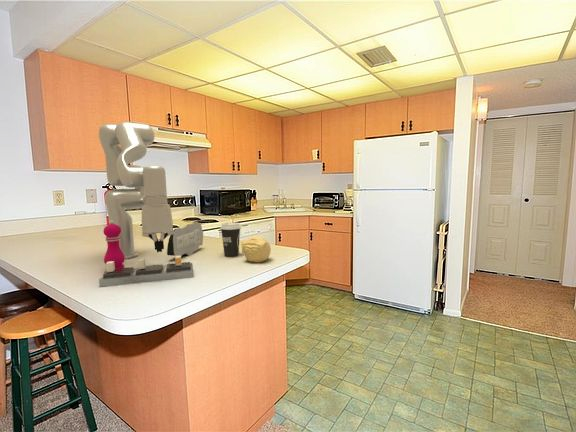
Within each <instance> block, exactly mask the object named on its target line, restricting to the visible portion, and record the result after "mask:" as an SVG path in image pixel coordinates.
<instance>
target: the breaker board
mask: <svg viewBox="0 0 576 432" xmlns="http://www.w3.org/2000/svg"><path fill="white" fill-rule="evenodd" d="M193 267H194V265H193V262H190V261H184V262H181V265H178V266H176V262H174V263H167V264H166V265H163V264H153V265H145V269H138V267H134V266H131V267H124V268H118V269H115V270H114V271H113V272H107V271H106V270H105V271H104V273H103V274H102V275H101V276H100V278H99V279H98V283H99V287H100V288H102V287H104V286H105V287H112V285H114V286H120V285H121V284H123V285H131V284H130V283H133V284H139V283H140V284H141V282H142V283H149V282H151V283H152V282H161V281H169V280H178V279H188V278H194V268H193ZM121 286H122V285H121Z"/></svg>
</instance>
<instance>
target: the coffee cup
mask: <svg viewBox="0 0 576 432" xmlns="http://www.w3.org/2000/svg"><path fill="white" fill-rule="evenodd" d="M219 229H220V230H221V237H222V246H223V254H224V257H226V258H234V257H238V256H239V252H240V251H239V250H240V237H241V235H240V234H241V232H240V231H241V229H242V227H241V224H240V223H239V222H223V223H221V226H220V227H219Z"/></svg>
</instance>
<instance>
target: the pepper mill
mask: <svg viewBox="0 0 576 432" xmlns="http://www.w3.org/2000/svg"><path fill="white" fill-rule="evenodd" d="M109 224H110V225H109ZM102 231H103V234H104V236H105V242H107V243H106V244H107V250H106V251H105V254H104V258H103V262H104V264H105V265H106V263H107V262H109V261H114V265H115V269H118V268H125V264H123V263H125V261H126V259H125V256H124V254H123V252H122V251H121V249H120V246H119V240H120V236H119V234H120V233H121V228H120V227H119V226H118V225H116V224H114V221H113V220H111V221H109V220H108V224H107V225H105V226H104V227H103V230H102Z"/></svg>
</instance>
